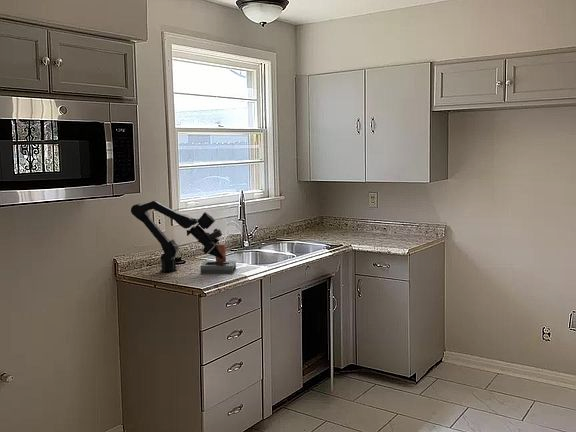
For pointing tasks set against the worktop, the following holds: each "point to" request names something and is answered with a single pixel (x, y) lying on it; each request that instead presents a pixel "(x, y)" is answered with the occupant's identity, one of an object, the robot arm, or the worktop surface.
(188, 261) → the worktop surface
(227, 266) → the keyhole plate
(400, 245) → the worktop surface
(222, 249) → the peg
